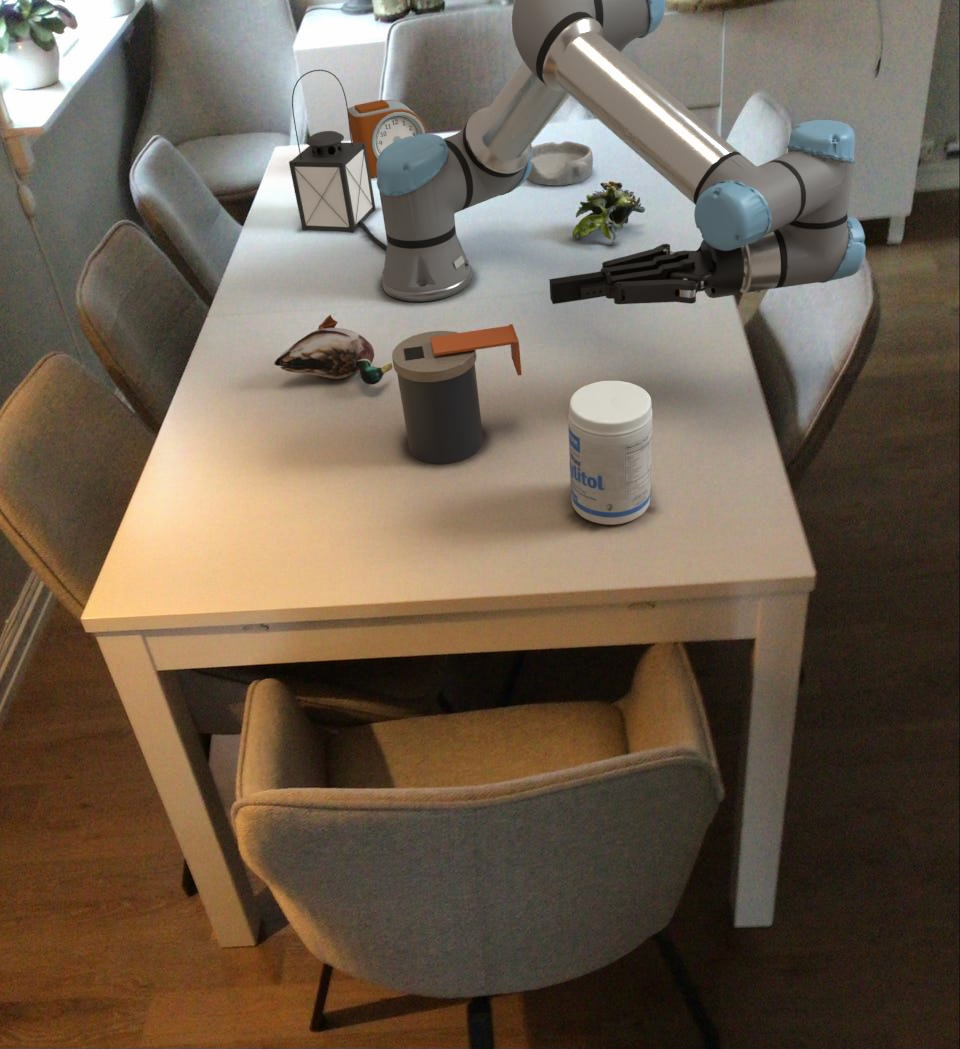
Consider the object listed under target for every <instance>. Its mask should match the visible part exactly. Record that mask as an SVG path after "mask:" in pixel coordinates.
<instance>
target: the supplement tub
mask: <svg viewBox="0 0 960 1049" xmlns="http://www.w3.org/2000/svg"><path fill="white" fill-rule="evenodd" d="M567 418H568V419H567V420H568V450H569V451H568V452H569V477H570V478H569V479H570V500H571V504H572V507H573V510H575V511H576V513H577V514H578V515H579V516H580V517H582V518H584V519H585V520H587V521H589V522H592V523H595V524H601V525H612V526H615V525H622V524H626V523H629V522H631V521H635V520H636V519H638V518H639V517H641V516H642V515H643V514H644V513H645V512H646V511H647V510H648V508H649V505H650V504H651V488H652V487H651V484H652V449H653V448H652V447H653V444H652V443H653V408H652V398H651V396H650V394H649V393H648V392H647V391H646V389H644V388H642V387H641V386H639V385H637V384H634V383H632V382H627V381H622V380H600V381H596V382H592V383H589V384H587V385H584V386H582V387H580V388H579V389H577V390H576V391H575V392H574V393H573V394H572V395H571V397H570V400H569V410H568V417H567Z"/></svg>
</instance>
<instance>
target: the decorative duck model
mask: <svg viewBox="0 0 960 1049" xmlns="http://www.w3.org/2000/svg"><path fill="white" fill-rule="evenodd" d="M338 322H339V321H337V320H335V319H334V318H333V317H332V314H329V315H328V316H327V317H325V319H324V320H323V321H322V323H321V324H319V325H318V328H317V329H316V330H314V331H312V332H310V333H308V334H307V335H305V336H304V337H302V338H300V339H299V340H297V341H296V342H295V343H293V344H292V345H291V346H290V347H288V348H287V349H286V350H285V351H283V352H282V353H281V354H280V355H279V356H278V357H277V358H276V359H275V361H274V363H273V364H274V366H276V367H277V366H278V367H280V369H281V370H283V371H286V372H290V373H295V374H296V373H297V374H305V375H314V376H319V377H323V378H328V379H335V380H340V379H345V378H348V377H350V376H353V375H354V374H356V373H359V376H360V378H361V380H362V382H364V384H367V385H375V384H377V383H379V382H380V381H381V380H382V379H383V376H384V375H385V374H386V373H388V372H390V371H391V370H393V362H392V363H391V362H390V363H387V364H386V365H384V366H382V367H378V366H374V365H373V366H372V363H373V361H374V358H375V350H374V347H373V345H372V344H371V342H369V341H368V340H367V339H366V338H365V337H363V335H361V334H359V333H358V332H356V331H353V330H351V329H348V328H342V327H336V326H337V324H338Z"/></svg>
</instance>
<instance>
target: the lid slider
mask: <svg viewBox="0 0 960 1049" xmlns="http://www.w3.org/2000/svg"><path fill="white" fill-rule="evenodd" d="M430 338H431V343H432V348H433V353H434V356H438V355H445V354H451V353H458V352H465V351H471V350H476V351H478V350H484V349H490V348H497V347H504V346H510V353H511V354H510V355H511V359H512V360H511V361H512V362H513V366H514V369H515V371H516V375H517V376H522V375H523V374H522V362H521V351H520V340H519V338H518V336H517V333H516V330H515V327H514V324H513V323H509V324H508V325H503V326H497V327H491V328H489V327H488V328H483V329H476V330H469V331H462V332H457V333H456V334H449V335H442V336H435V337H430Z"/></svg>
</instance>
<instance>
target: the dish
mask: <svg viewBox="0 0 960 1049" xmlns="http://www.w3.org/2000/svg"><path fill="white" fill-rule="evenodd" d="M532 150H533V158H532V159H530V161H531V162H532V168H531V172H530V174H529V176H528V178H527V179H528V180H529V181H531V182H532V183H535V184H538V185H545V186H564V185H565V186H566V185H573V184H577V183H579V182H582V181H584V180H586V179H587V178H589V176H591V175H592V174H591V173H592V171H593V166H594V165H593V164H594V157H593V151H592V149H591V147H590V146H588V145H586V144H583V143H579V142H574V141H568V140H566V141H565V140H564V141H563V142H561V143H556V142H554V141H549V142H545V143H541V144H536V145H534V146H532Z"/></svg>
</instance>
